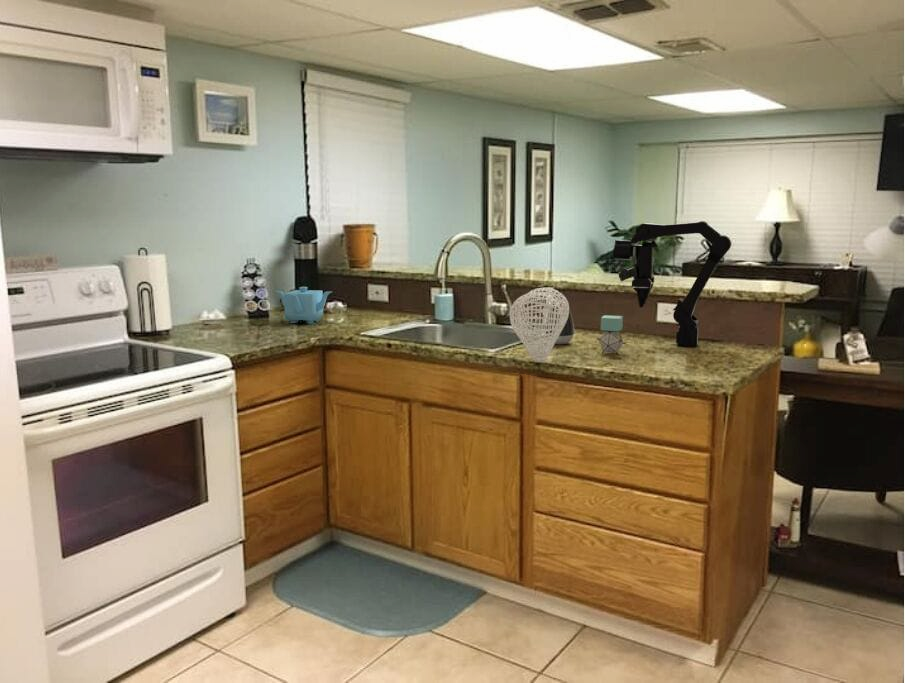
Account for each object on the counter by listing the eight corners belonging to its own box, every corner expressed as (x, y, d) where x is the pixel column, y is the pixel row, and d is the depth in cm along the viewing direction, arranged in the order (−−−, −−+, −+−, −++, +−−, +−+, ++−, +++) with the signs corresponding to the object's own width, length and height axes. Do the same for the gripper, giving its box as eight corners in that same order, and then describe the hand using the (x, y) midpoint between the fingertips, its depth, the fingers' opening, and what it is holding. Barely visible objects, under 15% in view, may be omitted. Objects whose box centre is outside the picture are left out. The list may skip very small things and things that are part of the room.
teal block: (622, 328, 253) (622, 316, 252) (619, 331, 247) (619, 318, 246) (603, 327, 255) (604, 315, 254) (600, 330, 249) (600, 317, 249)
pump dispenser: (577, 342, 273) (578, 299, 270) (569, 347, 264) (570, 302, 261) (549, 340, 277) (550, 297, 275) (540, 344, 268) (541, 301, 265)
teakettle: (314, 317, 336) (312, 283, 333) (335, 322, 321) (334, 287, 319) (273, 322, 325) (271, 286, 322) (293, 327, 310) (292, 290, 307)
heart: (556, 373, 223) (558, 296, 219) (504, 370, 228) (504, 294, 224) (571, 355, 250) (572, 286, 246) (524, 352, 254) (524, 284, 250)
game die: (604, 364, 254) (591, 337, 258) (628, 354, 254) (615, 327, 258) (606, 355, 246) (593, 328, 249) (631, 345, 246) (617, 318, 249)
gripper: (623, 258, 278) (621, 301, 280) (617, 261, 260) (615, 308, 263) (655, 258, 274) (653, 302, 277) (651, 262, 257) (649, 309, 259)
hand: (642, 305), depth 269 cm, fingers open, 9 cm apart
